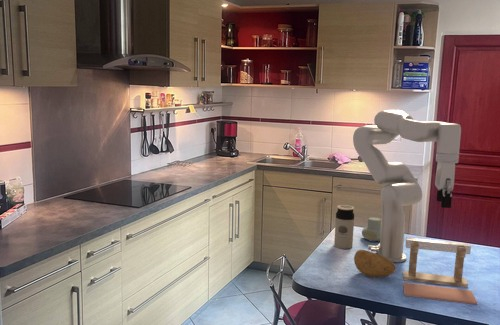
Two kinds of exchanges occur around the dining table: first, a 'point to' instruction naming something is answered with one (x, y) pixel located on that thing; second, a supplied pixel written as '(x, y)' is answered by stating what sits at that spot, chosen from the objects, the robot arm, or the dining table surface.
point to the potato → (373, 264)
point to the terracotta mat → (439, 293)
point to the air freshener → (372, 229)
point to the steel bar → (438, 245)
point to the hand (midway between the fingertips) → (443, 204)
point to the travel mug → (344, 227)
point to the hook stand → (433, 278)
